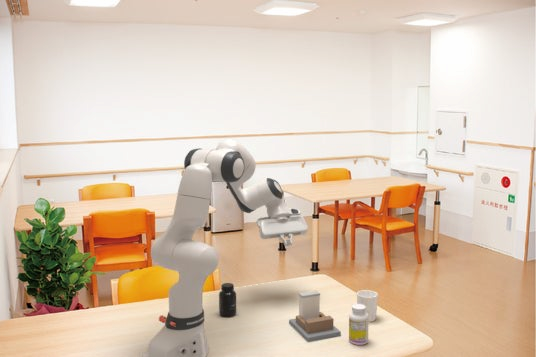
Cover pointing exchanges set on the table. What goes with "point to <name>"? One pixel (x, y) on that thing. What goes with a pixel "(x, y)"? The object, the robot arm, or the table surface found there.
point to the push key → (309, 305)
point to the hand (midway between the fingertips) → (288, 244)
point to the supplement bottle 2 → (358, 325)
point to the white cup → (368, 302)
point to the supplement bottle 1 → (227, 300)
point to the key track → (314, 335)
